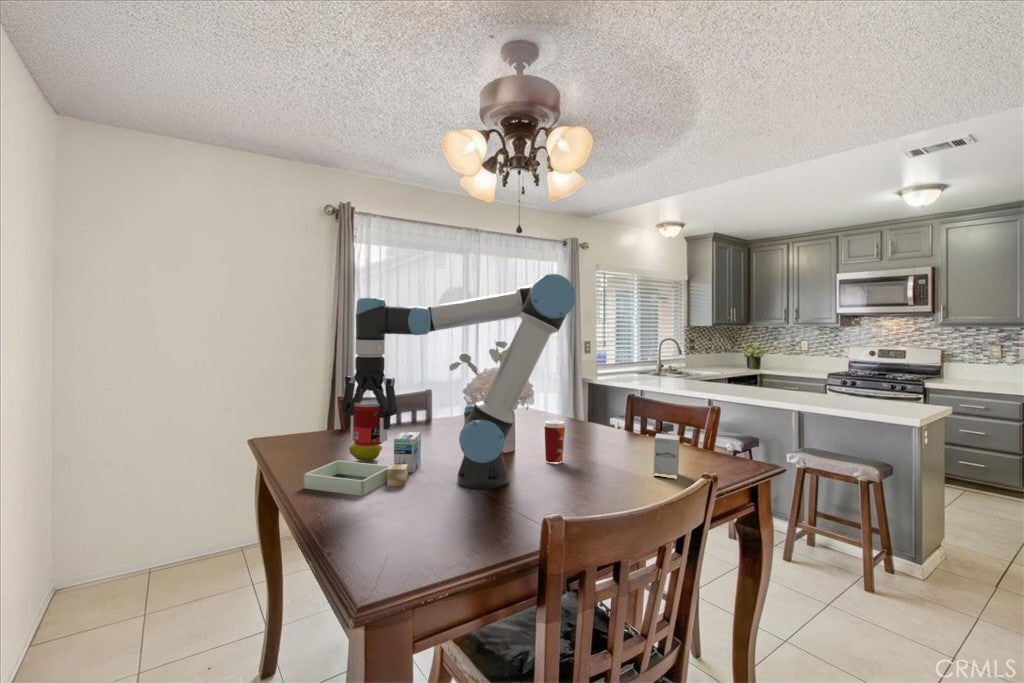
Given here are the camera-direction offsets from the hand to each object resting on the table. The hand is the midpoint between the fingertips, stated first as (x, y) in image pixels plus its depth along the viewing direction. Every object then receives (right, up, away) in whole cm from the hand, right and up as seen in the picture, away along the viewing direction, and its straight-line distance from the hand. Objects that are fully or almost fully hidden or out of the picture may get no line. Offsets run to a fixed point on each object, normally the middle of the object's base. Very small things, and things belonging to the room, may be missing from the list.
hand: (368, 439), depth 130 cm
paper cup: (+53, -15, +37) cm, 67 cm away
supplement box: (+88, -16, +24) cm, 92 cm away
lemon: (-11, -15, +34) cm, 39 cm away
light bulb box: (+5, -15, +28) cm, 32 cm away
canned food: (0, -1, 0) cm, 1 cm away
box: (-9, -15, +11) cm, 20 cm away
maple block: (+5, -15, +12) cm, 20 cm away
